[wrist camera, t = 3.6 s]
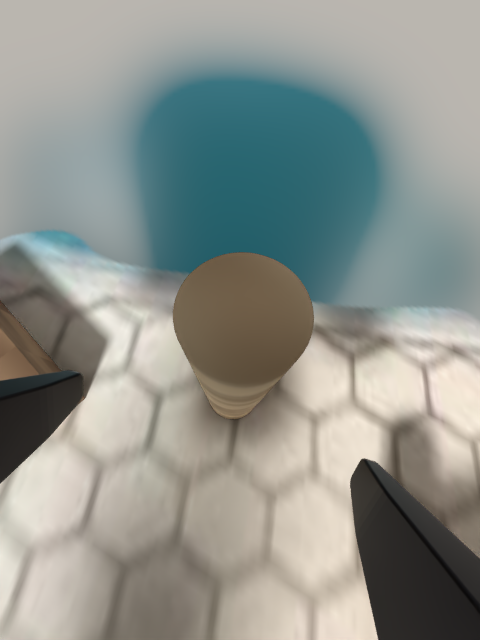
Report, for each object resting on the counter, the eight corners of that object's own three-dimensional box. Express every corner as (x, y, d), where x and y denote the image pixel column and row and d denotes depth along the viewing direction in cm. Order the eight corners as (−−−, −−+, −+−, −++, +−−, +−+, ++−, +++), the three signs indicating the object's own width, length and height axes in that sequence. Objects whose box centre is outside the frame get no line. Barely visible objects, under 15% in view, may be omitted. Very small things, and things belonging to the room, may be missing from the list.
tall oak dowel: (234, 430, 19) (248, 415, 6) (197, 394, 20) (143, 313, 7) (267, 392, 20) (341, 309, 7) (232, 358, 21) (240, 230, 8)
